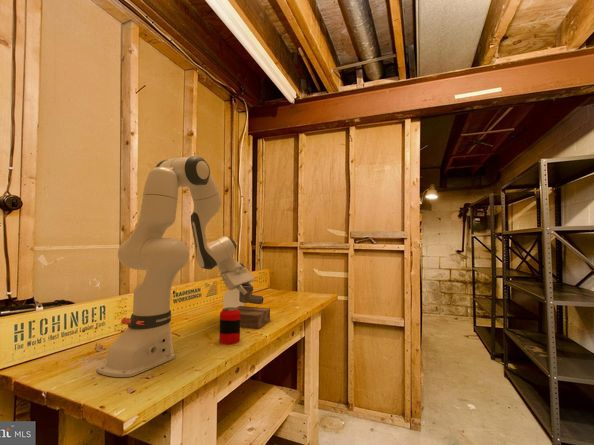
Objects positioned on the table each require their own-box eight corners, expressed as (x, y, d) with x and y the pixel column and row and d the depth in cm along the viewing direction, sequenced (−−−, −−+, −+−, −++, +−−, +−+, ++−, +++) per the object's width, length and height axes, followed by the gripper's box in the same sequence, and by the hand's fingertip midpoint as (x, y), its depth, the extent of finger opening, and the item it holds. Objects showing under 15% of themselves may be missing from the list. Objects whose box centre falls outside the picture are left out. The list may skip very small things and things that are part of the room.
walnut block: (257, 330, 124) (258, 316, 125) (224, 326, 129) (224, 313, 129) (269, 321, 138) (270, 308, 138) (239, 318, 142) (239, 305, 142)
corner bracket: (242, 308, 160) (243, 286, 160) (222, 308, 159) (222, 286, 160) (245, 304, 170) (245, 283, 171) (225, 304, 170) (226, 283, 170)
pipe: (259, 307, 129) (261, 289, 129) (233, 302, 133) (235, 284, 133) (264, 304, 135) (266, 286, 135) (239, 299, 138) (241, 282, 139)
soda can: (215, 342, 109) (215, 309, 109) (229, 336, 115) (229, 305, 116) (230, 346, 105) (230, 312, 106) (243, 339, 112) (244, 308, 112)
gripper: (223, 267, 127) (243, 291, 123) (245, 263, 146) (263, 284, 143) (214, 277, 128) (233, 301, 125) (237, 272, 147) (254, 292, 144)
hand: (249, 292), depth 134 cm, fingers closed on pipe, 5 cm apart
